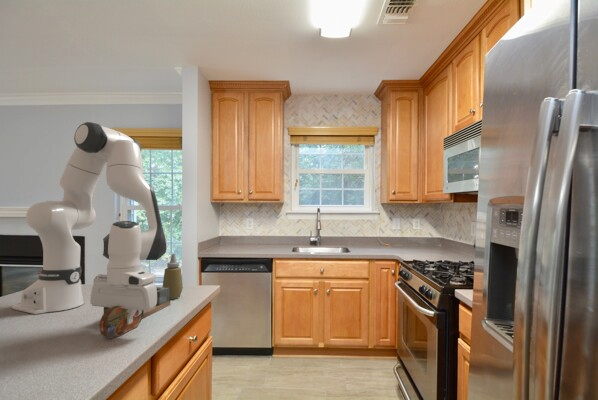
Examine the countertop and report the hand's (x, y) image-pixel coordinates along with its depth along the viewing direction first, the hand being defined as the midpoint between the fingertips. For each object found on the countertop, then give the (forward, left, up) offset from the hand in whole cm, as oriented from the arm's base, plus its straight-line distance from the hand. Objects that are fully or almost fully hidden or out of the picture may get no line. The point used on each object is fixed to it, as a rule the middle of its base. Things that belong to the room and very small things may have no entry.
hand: (122, 322), depth 93 cm
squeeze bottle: (-7, +36, -3) cm, 37 cm away
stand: (-7, +16, -3) cm, 18 cm away
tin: (0, 0, -3) cm, 3 cm away
